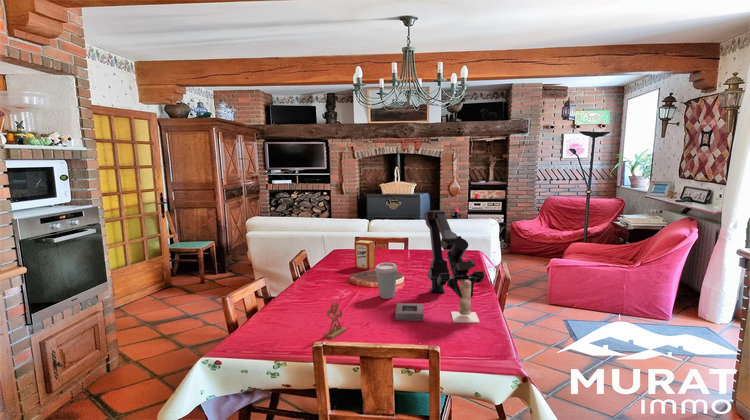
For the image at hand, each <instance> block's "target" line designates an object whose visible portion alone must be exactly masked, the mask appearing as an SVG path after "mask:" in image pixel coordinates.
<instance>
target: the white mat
mask: <svg viewBox="0 0 750 420" xmlns="http://www.w3.org/2000/svg"><path fill="white" fill-rule="evenodd" d="M450 315H451V318H452V322H453V323H458V324H459V323H461V324H463V323H465V324H480V319H479V317H478V314H477V312H475V311H471V314H470V315H461V314H460V313H459V311H450Z"/></svg>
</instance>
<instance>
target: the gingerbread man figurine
mask: <svg viewBox="0 0 750 420" xmlns="http://www.w3.org/2000/svg"><path fill="white" fill-rule="evenodd" d="M338 311H339V313H337V312H338ZM331 314H332V315H333V316H330V315H331ZM326 316H327V317H328V318H330V319H331V324H330V327H329V331H327V332H326V333H324V334H323V338H326V339H329V340H333V339H335V338H336V337H338V336H340V335H342V334H343V333H345V332H346V331H347V327H345V326H342V325H341V323H340V320H339V319H340V318H342V317H343V312H342V310H341V309H339V303H338V302H337V301H333V302H331V305H330V309H328V310H327V311H326ZM335 322H337V323H335ZM337 324H338V325H337Z"/></svg>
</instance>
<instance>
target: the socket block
mask: <svg viewBox="0 0 750 420" xmlns="http://www.w3.org/2000/svg"><path fill="white" fill-rule="evenodd" d="M394 313H395V321H404V322H407V321H409V322H413V321H414V322H424V317H425V316H424V315H425V314H424V303H407V302H406V303H402V302H401V303H400V302H397V303H396V307H395V312H394Z"/></svg>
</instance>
